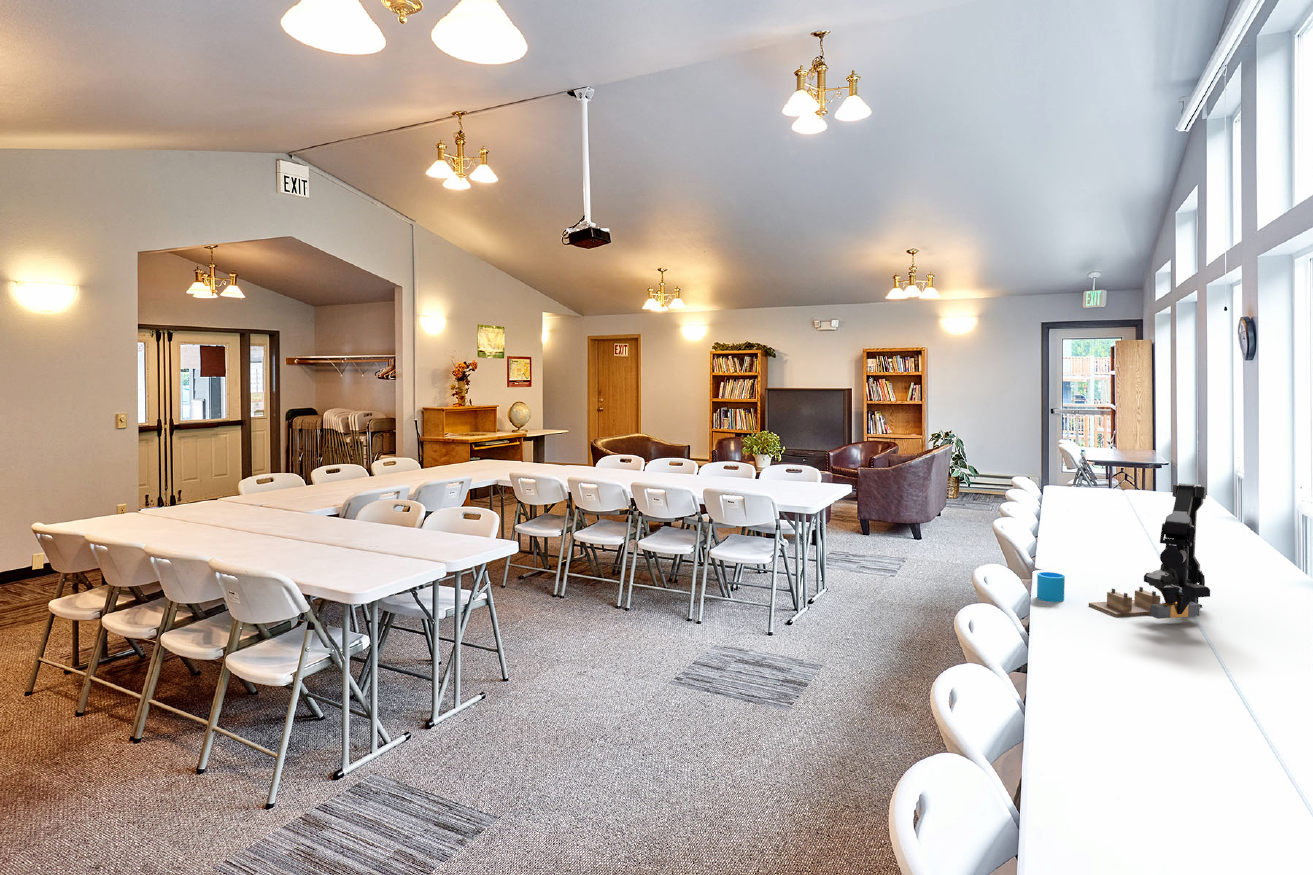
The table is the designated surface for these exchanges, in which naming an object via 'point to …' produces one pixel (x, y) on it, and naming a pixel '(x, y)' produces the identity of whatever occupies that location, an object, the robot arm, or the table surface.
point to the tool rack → (1127, 603)
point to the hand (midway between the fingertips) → (1174, 612)
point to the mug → (1050, 586)
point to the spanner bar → (1173, 610)
